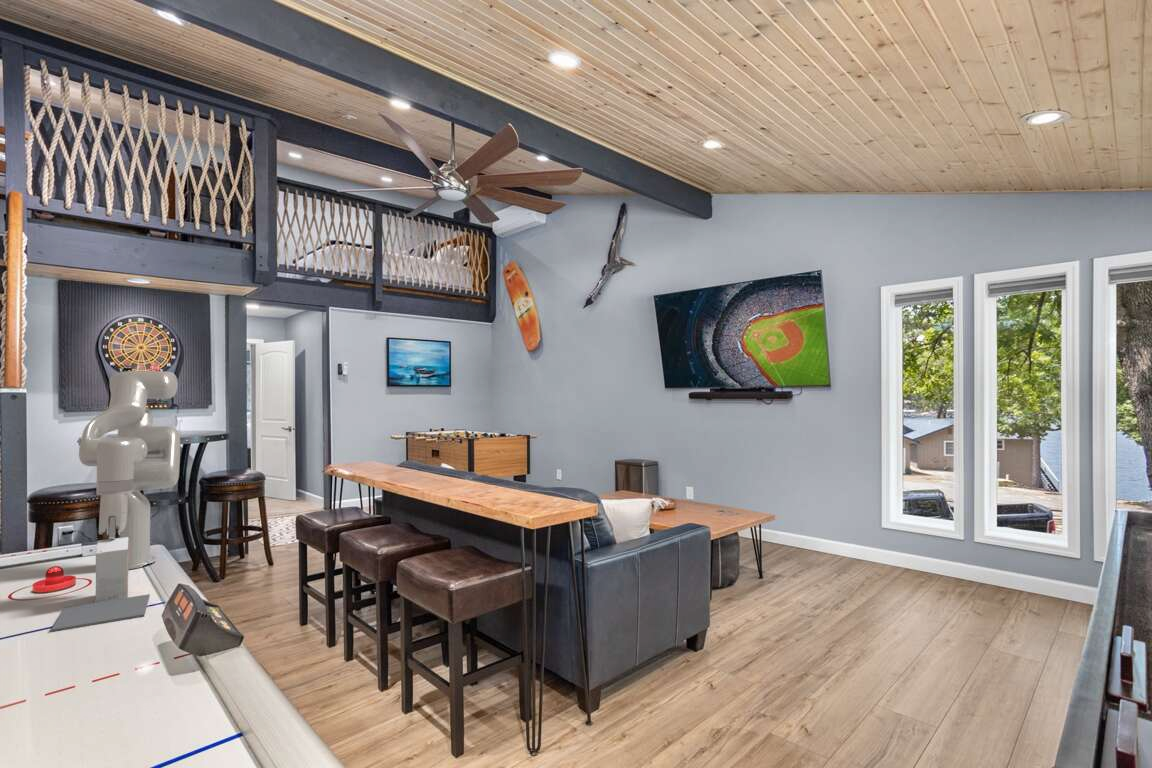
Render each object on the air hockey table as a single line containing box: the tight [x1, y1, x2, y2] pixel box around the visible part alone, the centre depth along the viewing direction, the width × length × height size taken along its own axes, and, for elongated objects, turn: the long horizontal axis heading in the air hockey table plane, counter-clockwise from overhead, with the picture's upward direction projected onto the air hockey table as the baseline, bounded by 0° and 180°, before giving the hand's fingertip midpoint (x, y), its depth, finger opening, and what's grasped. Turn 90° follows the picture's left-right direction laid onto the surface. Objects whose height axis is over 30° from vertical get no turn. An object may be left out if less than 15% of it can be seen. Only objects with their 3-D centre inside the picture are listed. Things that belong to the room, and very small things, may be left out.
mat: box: [50, 594, 151, 633], centre depth 135 cm, size 16×16×1 cm
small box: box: [95, 537, 129, 602], centre depth 145 cm, size 8×6×13 cm
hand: (114, 558), depth 150 cm, fingers closed
